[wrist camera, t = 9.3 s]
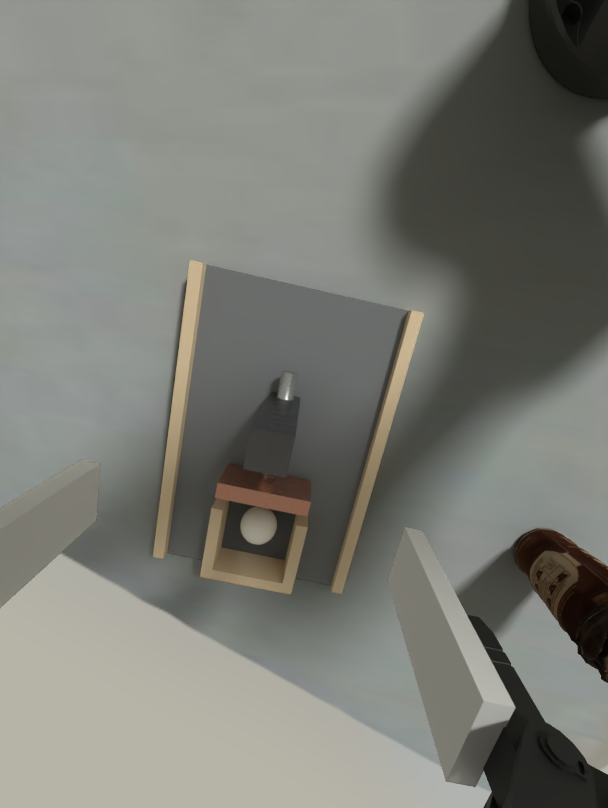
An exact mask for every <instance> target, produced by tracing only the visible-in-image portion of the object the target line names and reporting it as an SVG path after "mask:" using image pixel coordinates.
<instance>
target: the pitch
mask: <svg viewBox="0 0 608 808" xmlns="http://www.w3.org/2000/svg"><path fill="white" fill-rule="evenodd" d="M423 316H424V313H421V312H417V311H412V310H411V311H407V310H403V309H398V308H394V307H389V306H385V305H381V304H376V303H372V302H367V301H363V300H359V299H354V298H350V297H345V296H341V295H337V294H332V293H328V292H323V291H319V290H315V289H310V288H306V287H301V286H297V285H293V284H288V283H284V282H279V281H275V280H271V279H266V278H262V277H257V276H253V275H249V274H244V273H240V272H236V271H231V270H227V269H222V268H218V267H214V266H209V265H206V264H204V263H201V262H197V261H193V260H190V264H189V272H188V280H187V288H186V296H185V304H184V312H183V320H182V328H181V336H180V344H179V352H178V360H177V368H176V376H175V384H174V392H173V400H172V408H171V415H170V423H169V431H168V439H167V447H166V455H165V463H164V471H163V479H162V487H161V495H160V503H159V511H158V519H157V527H156V535H155V543H154V551H153V557H156V558H161V559H164V557H165V555H166V554H167V553H170V554H175V555H180V556H185V557H190V558H195V559H200V560H203V561H202V567H201V573H200V577H203V578H208V579H213V580H218V581H223V582H229V583H234V584H239V585H244V586H249V587H254V588H259V589H264V590H269V591H274V592H280V593H285V594H290V595H291V593H292V589H293V585H294V581H295V578H296V579H301V580H306V581H311V582H316V583H321V584H326V585H331V590H332V592H333V593H338V594H342V592H343V588H344V585H345V582H346V578H347V575H348V571H349V568H350V564H351V561H352V558H353V554H354V551H355V547H356V544H357V541H358V537H359V534H360V530H361V527H362V524H363V520H364V517H365V513H366V510H367V507H368V503H369V500H370V496H371V493H372V490H373V486H374V483H375V479H376V476H377V473H378V469H379V466H380V462H381V459H382V455H383V452H384V449H385V445H386V442H387V438H388V435H389V432H390V428H391V425H392V421H393V418H394V415H395V411H396V408H397V404H398V401H399V398H400V394H401V391H402V387H403V384H404V381H405V377H406V374H407V370H408V367H409V363H410V360H411V357H412V353H413V350H414V346H415V343H416V340H417V336H418V333H419V329H420V326H421V323H422V319H423ZM282 371H290V372H294V373H297V374H299V375H298V379H297V384H296V389H295V393H294V396H295V397H299V398H301V399H300V407H299V414H298V422H297V430H296V437H295V442H294V446H293V451H292V455H291V460H290V464H289V469H288V473H287V476H291V477H296V478H301V479H305V480H310V481H311V504H310V508H309V512H308V516H307V517H306V516H301V515H297V514H292V513H287V512H282V511H277V510H272V509H270V510H271V511H272V512H273V513H274V515H275V517H276V520H277V529H276V532H275V534H274V536H273V537H272V538H271V540H269V541H268V542H266V543H264V544H260V545H256V544H252V543H249V542H248V541H247V540H246V539H245V538H244V537H243V535H242V533H241V529H240V524H241V520H242V517H243V515H244V514H245V513H246V512H247V511H248V510H249V509H250V508H253V507H255V506H253V505H248V504H243V503H238V502H233V501H228V500H223V499H218V498H215V494H216V488H217V483H218V481H219V479H220V478H221V476H222V474H223V472H224V471H225V469H226V467H227V466H228V464H233V465H238V466H244V460H245V455H246V450H247V444H248V439H249V434H250V428H251V426H252V424H253V423H254V421H255V419H256V417H257V416H258V414H259V412H260V411H261V409H262V407H263V406H264V404H265V402H266V400H267V399H268V397H269V395H270V394H271V392H276V393H278V389H279V384H280V379H281V374H282Z"/></svg>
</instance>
